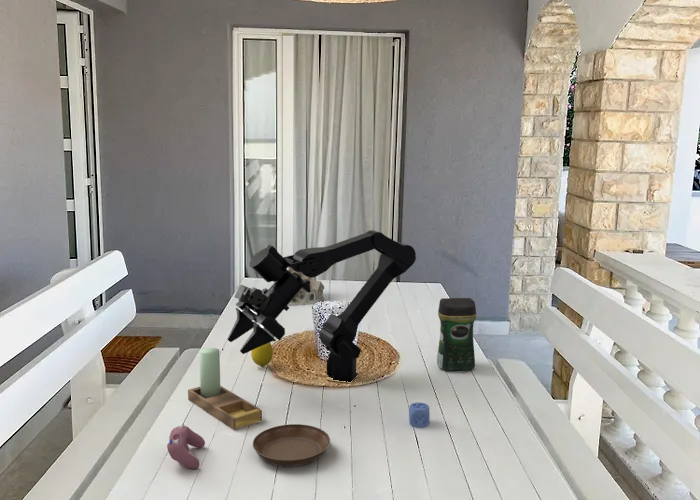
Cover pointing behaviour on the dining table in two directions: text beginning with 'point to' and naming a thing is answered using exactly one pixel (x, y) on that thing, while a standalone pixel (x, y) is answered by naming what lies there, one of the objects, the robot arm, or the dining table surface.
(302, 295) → the ceramic cottage
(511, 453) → the dining table surface
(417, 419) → the decorative dice
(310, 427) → the saucer
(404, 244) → the robot arm
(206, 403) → the wooden compartment tray
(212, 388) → the peg
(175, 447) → the video game controller
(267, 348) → the lemon
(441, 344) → the coffee jar
